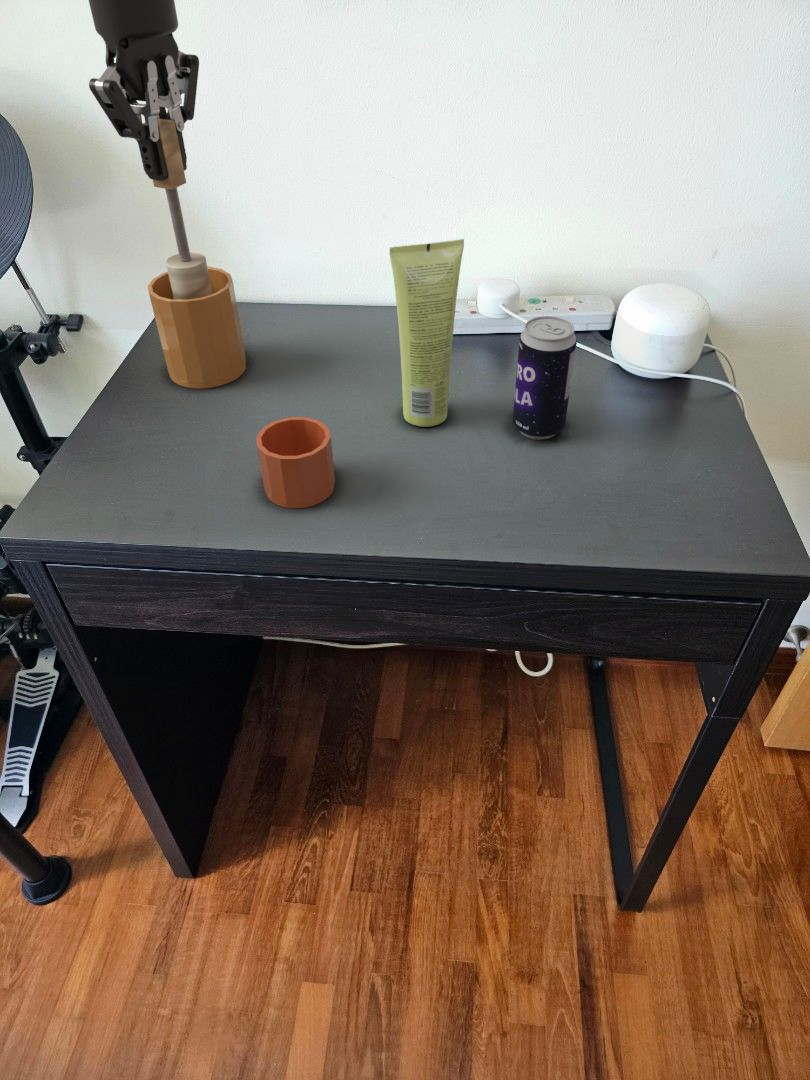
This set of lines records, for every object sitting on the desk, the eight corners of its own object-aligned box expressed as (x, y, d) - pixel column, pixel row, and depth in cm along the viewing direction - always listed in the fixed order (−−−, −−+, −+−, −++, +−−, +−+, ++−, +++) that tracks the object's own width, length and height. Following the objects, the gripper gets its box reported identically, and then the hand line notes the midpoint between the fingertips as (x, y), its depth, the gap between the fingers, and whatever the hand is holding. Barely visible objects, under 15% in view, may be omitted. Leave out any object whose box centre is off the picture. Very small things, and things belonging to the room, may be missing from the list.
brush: (199, 321, 90) (160, 130, 77) (169, 314, 91) (125, 125, 78) (222, 306, 93) (188, 119, 79) (192, 299, 94) (154, 114, 81)
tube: (420, 397, 91) (420, 227, 78) (458, 409, 89) (464, 237, 76) (394, 421, 88) (388, 247, 75) (433, 434, 86) (434, 257, 73)
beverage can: (528, 408, 89) (538, 309, 81) (573, 424, 87) (588, 323, 79) (502, 432, 86) (510, 330, 78) (548, 449, 83) (561, 346, 75)
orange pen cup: (215, 395, 93) (197, 307, 85) (152, 378, 96) (130, 291, 88) (261, 359, 99) (248, 274, 91) (201, 344, 102) (183, 260, 95)
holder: (311, 516, 76) (305, 466, 72) (250, 496, 78) (241, 446, 74) (348, 476, 80) (344, 427, 76) (289, 458, 83) (282, 410, 79)
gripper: (145, -40, 76) (182, 152, 88) (36, -21, 67) (93, 190, 79) (207, -37, 74) (237, 160, 85) (102, -17, 65) (151, 201, 76)
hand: (167, 174), depth 82 cm, fingers closed on brush, 2 cm apart
